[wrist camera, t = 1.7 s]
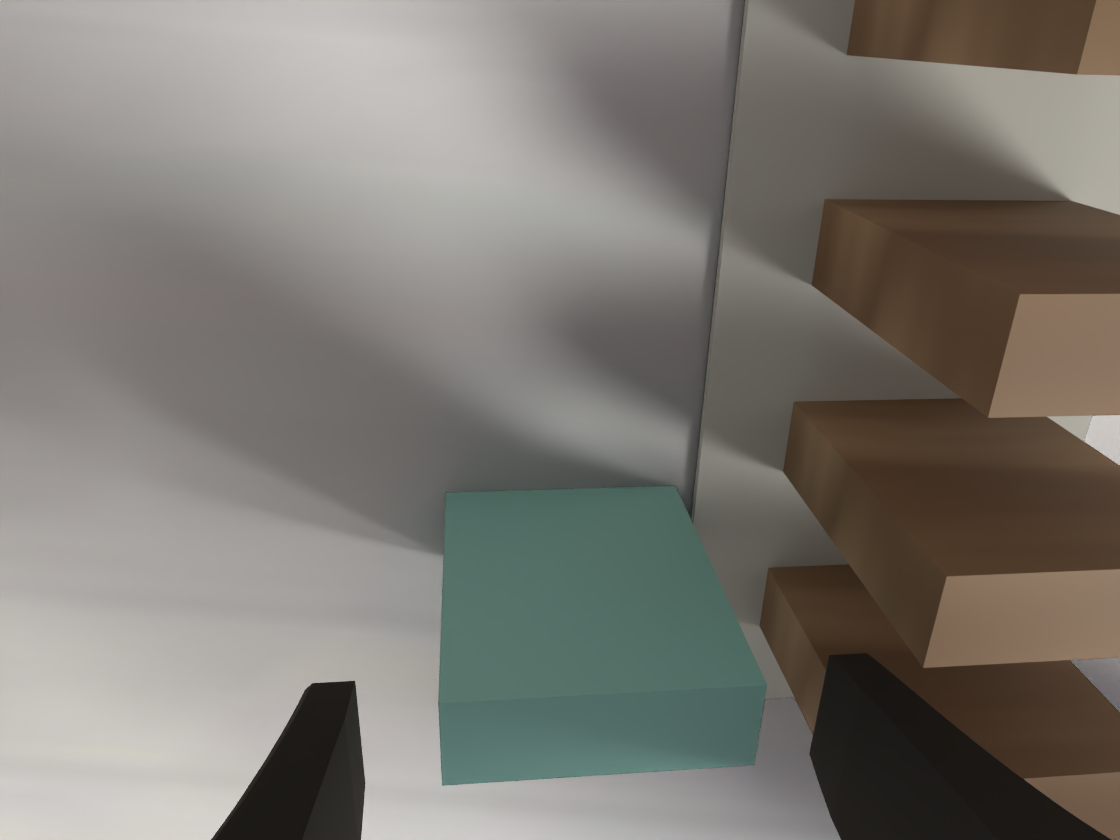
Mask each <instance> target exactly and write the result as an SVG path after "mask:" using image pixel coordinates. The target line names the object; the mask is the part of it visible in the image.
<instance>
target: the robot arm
mask: <svg viewBox="0 0 1120 840" xmlns="http://www.w3.org/2000/svg"><path fill="white" fill-rule="evenodd" d="M809 754H810V757H811V760H812V763H813V766H814V769H815V772H816V775H817V778H818V781H819V784H820V787H821V790H822V793H823V796H824V799H825V802H826V804H827V807H828V810H829V813H830V816H831V818H832V821H833V823H834V825H835V827H836V829H837V831H838V834H839V836H840V838H841V840H1111V839H1109V838H1108V837H1106V836H1105V835H1103V834H1102V833H1100V832H1099V831H1097V830H1096V829H1094V828H1092V827H1091V826H1089V825H1088V824H1086V823H1085V822H1083V821H1082V820H1080V819H1079V818H1077V817H1076V816H1074V815H1073V814H1071V813H1070V812H1068V811H1067V810H1065V809H1064V808H1063V807H1061V806H1060V805H1058V804H1057V803H1055V802H1054V801H1053V800H1051V799H1050V798H1049V797H1047V796H1046V795H1044V794H1043V793H1042V792H1040V791H1039V790H1038V789H1036V788H1035V787H1033V786H1032V785H1031V784H1029V783H1028V782H1027V781H1025V780H1024V779H1023V778H1021V777H1020V776H1018V775H1017V774H1016V773H1014V772H1013V771H1012V770H1010V769H1009V768H1008V767H1006V766H1005V765H1004V764H1003V763H1001V762H1000V761H999V760H997V759H996V758H995V757H993V756H992V755H991V754H990V753H988V752H987V751H986V750H985V749H983V748H982V747H981V746H979V745H978V744H977V743H976V742H974V741H973V740H972V739H971V738H970V737H968V736H967V735H966V734H965V733H963V732H962V731H961V730H960V729H958V728H957V727H956V726H955V725H953V724H952V723H951V722H950V721H949V720H947V719H946V718H945V717H944V716H943V715H941V714H940V713H939V712H938V711H937V710H935V709H934V708H933V707H932V706H931V705H929V704H928V703H927V702H926V701H925V700H923V699H922V698H921V697H920V696H919V695H917V694H916V693H915V692H914V691H913V690H911V689H910V688H909V687H908V686H907V685H906V684H904V683H903V682H902V681H901V680H900V679H898V678H897V677H896V676H895V675H894V674H892V673H891V672H890V671H889V670H888V669H886V668H885V667H884V666H883V665H881V664H880V663H879V662H878V661H876V660H875V659H874V658H873V657H871V656H870V655H869V654H868V653H857V654H839V655H829V659H828V664H827V669H826V673H825V678H824V683H823V688H822V693H821V698H820V703H819V708H818V713H817V718H816V723H815V728H814V733H813V738H812V743H811V748H810V753H809ZM364 792H365V777H364V767H363V756H362V746H361V736H360V726H359V716H358V706H357V696H356V686H355V681H346V682H328V683H312V684H311V685H310V686H309V687H308V688H307V689H306V690H305V691H304V693H303V695H302V697H301V699H300V701H299V703H298V705H297V707H296V709H295V711H294V712H293V714H292V716H291V718H290V720H289V722H288V723H287V725H286V727H285V729H284V730H283V732H282V734H281V735H280V737H279V739H278V740H277V742H276V744H275V745H274V747H273V749H272V750H271V752H270V754H269V755H268V757H267V759H266V760H265V762H264V763H263V765H262V766H261V768H260V770H259V771H258V773H257V774H256V776H255V777H254V779H253V780H252V782H251V783H250V785H249V786H248V788H247V789H246V791H245V793H244V794H243V796H242V797H241V799H240V800H239V802H238V803H237V805H236V806H235V808H234V809H233V810H232V812H231V813H230V815H229V816H228V817H227V819H226V820H225V822H224V823H223V824H222V826H221V827H220V828H219V830H218V831H217V832H216V834H215V835H214V837H213V838H212V839H211V840H361V831H362V819H363V806H364ZM1117 840H1120V839H1117Z"/></svg>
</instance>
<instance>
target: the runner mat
mask: <svg viewBox="0 0 1120 840" xmlns="http://www.w3.org/2000/svg"><path fill="white" fill-rule="evenodd" d="M854 4H855V0H745V7H744V17H743V27H742V36H741V46H740V55H739V65H738V75H737V84H736V94H735V103H734V113H733V123H732V132H731V142H730V151H729V161H728V170H727V180H726V190H725V199H724V209H723V218H722V228H721V238H720V247H719V257H718V266H717V276H716V286H715V295H714V305H713V314H712V324H711V334H710V343H709V353H708V362H707V372H706V382H705V391H704V401H703V410H702V420H701V430H700V439H699V449H698V458H697V468H696V478H695V487H694V497H693V506H692V516H691V521H692V523H693V525H694V527H695V529H696V531H697V534H698V536H699V538H700V540H701V542H702V544H703V547H704V549H705V551H706V553H707V555H708V557H709V560H710V562H711V564H712V566H713V568H714V570H715V573H716V575H717V577H718V579H719V581H720V584H721V586H722V588H723V590H724V592H725V594H726V597H727V599H728V601H729V603H730V605H731V607H732V610H733V612H734V614H735V616H736V618H737V620H738V623H739V625H740V627H741V629H742V631H743V633H744V636H745V638H746V640H747V642H748V644H749V646H750V649H751V651H752V653H753V655H754V657H755V660H756V662H757V664H758V666H759V668H760V670H761V673H762V675H763V677H764V679H765V681H766V683H767V690H766V696H765V699H777V698H794V695H793V693H792V691H791V689H790V687H789V685H788V683H787V681H786V679H785V677H784V675H783V673H782V671H781V669H780V667H779V665H778V663H777V661H776V659H775V657H774V655H773V653H772V651H771V649H770V647H769V645H768V643H767V640H766V638H765V636H764V634H763V632H762V630H761V628H760V619H761V612H762V606H763V599H764V593H765V586H766V580H767V573H768V568H773V567H798V566H822V565H847V564H848V562H847V561H846V559H845V558H844V557H843V555H842V554H841V552H840V551H839V550H838V548H837V547H836V545H835V544H834V543H833V541H832V540H831V538H830V537H829V536H828V534H827V533H826V531H825V530H824V529H823V527H822V526H821V524H820V523H819V522H818V520H817V519H816V517H815V516H814V515H813V513H812V512H811V510H810V509H809V507H808V506H807V505H806V503H805V502H804V500H803V499H802V498H801V496H800V495H799V493H798V492H797V491H796V489H795V488H794V486H793V485H792V484H791V482H790V481H789V479H788V478H787V477H786V475H785V474H784V472H783V468H784V462H785V455H786V449H787V442H788V436H789V429H790V423H791V416H792V410H793V403H794V402H797V401H848V400H900V399H952V398H961V397H960V396H958V395H957V394H956V393H954V392H953V391H952V390H950V389H949V388H948V387H946V386H945V385H944V384H942V383H941V382H940V381H938V380H937V379H936V378H934V377H933V376H932V375H930V374H929V373H928V372H926V371H925V370H924V369H922V368H921V367H920V366H918V365H917V364H916V363H914V362H913V361H912V360H910V359H909V358H908V357H906V356H905V355H904V354H902V353H901V352H900V351H898V350H897V349H896V348H894V347H893V346H892V345H890V344H889V343H888V342H886V341H885V340H884V339H882V338H881V337H880V336H878V335H877V334H876V333H874V332H873V331H872V330H870V329H869V328H868V327H866V326H865V325H864V324H862V323H861V322H860V321H858V320H857V319H856V318H854V317H853V316H852V315H850V314H849V313H848V312H846V311H845V310H844V309H842V308H841V307H840V306H838V305H837V304H836V303H834V302H833V301H832V300H830V299H829V298H828V297H826V296H825V295H824V294H822V293H821V292H820V291H818V290H817V289H816V288H814V287H813V286H812V279H813V272H814V266H815V259H816V253H817V246H818V239H819V233H820V226H821V220H822V213H823V207H824V200H825V199H863V200H1024V201H1074V202H1077V203H1081V204H1084V205H1088V206H1091V207H1095V208H1098V209H1101V210H1105V211H1108V212H1112V213H1115V214H1119V215H1120V76H1119V75H1076V74H1064V73H1053V72H1041V71H1029V70H1017V69H1005V68H993V67H981V66H969V65H957V64H945V63H933V62H921V61H909V60H897V59H885V58H873V57H861V56H849V55H847V50H848V43H849V37H850V30H851V23H852V17H853V10H854ZM1048 418H1050V419H1051V420H1053V421H1054V422H1055V423H1057V424H1058V425H1060V426H1061V427H1063V428H1064V429H1066V430H1067V431H1069V432H1070V433H1072V434H1073V435H1075V436H1076V437H1078V438H1079V439H1081V440H1082V441H1085V438H1086V435H1087V431H1088V428H1089V425H1090V422H1091V419H1092V416H1050V417H1048Z"/></svg>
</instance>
